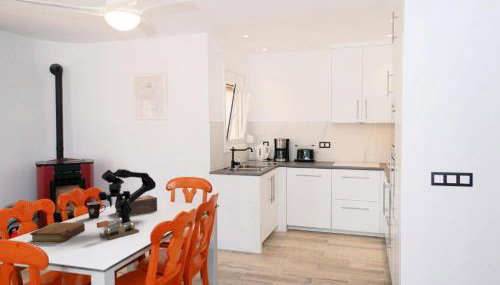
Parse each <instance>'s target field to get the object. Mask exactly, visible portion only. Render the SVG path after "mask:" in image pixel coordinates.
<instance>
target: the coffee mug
mask: <svg viewBox="0 0 500 285" xmlns="http://www.w3.org/2000/svg"><path fill="white" fill-rule="evenodd" d="M102 206H103V207H104V209H103V210H101V207H102ZM86 207H87V212H88V218H89V219H93V220H95V219H99V218H100V214H101V213H103V212H104V211H105V210H106V208H107V206H106V205H105V204H101V202H100V201H94V202H93V201H92V202H88V203H86Z"/></svg>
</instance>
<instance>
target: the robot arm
mask: <svg viewBox="0 0 500 285" xmlns="http://www.w3.org/2000/svg"><path fill="white" fill-rule="evenodd" d="M128 178H137V179H138V178H139V179H141V183H142V184H141V186H140V187H139V188H138V189H137V190H135V191H134V192H133V193H131V191H130V190H123V191H122V192H121V189H122V184H124V183H125V181H124V180H123V179H128ZM101 179H102V180H104V181H105V182H107V184H108V190H109V192H107V191H100V192H98V195H97V197H98V199H99V201H107V202H108V203H109V206H110V208H112V206H113V199H112V198H116V199H115V203H114V209H115V211H116V210H117V212H120V213H119V214H118V215H117V218H122V222H121V224H125V223H129V222H132V220H131V215H130V212H131V211H132V209H131V208H130V205H131V203H132V202H133V201H135V200H136V199H137V198H139V197H140V196H144V194H145V193H146V192H150V191H152V190H154V189H155V188H156V186H157V184H156V182H155V180H154V179H153V177H151V176H150V175H149V174H148V173H147V172H138V171H137V172H136V171H131V170H129V169H123V168H119V169H117V170H116V171H114V172H113V171H112V170H110V169H107V171H105V172H103V174H102V176H101ZM106 192H107V193H106Z"/></svg>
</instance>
